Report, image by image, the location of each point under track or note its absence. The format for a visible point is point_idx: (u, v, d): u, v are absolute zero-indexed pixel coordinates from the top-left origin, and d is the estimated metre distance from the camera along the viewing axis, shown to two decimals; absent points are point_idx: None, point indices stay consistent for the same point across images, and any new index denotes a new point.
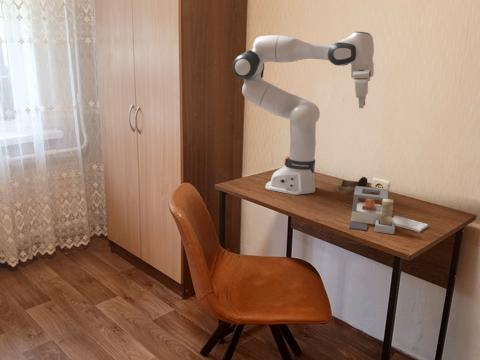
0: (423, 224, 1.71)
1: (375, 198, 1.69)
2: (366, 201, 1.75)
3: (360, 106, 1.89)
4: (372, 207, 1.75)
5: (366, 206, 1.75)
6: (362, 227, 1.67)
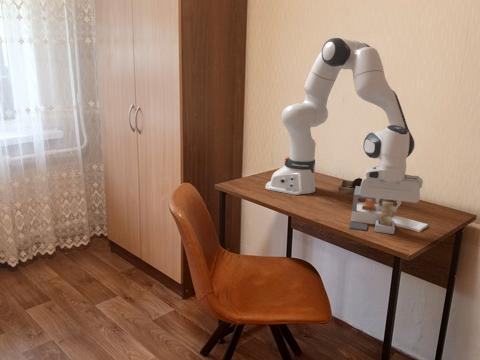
0: (423, 224, 1.71)
1: (375, 198, 1.69)
2: (366, 201, 1.75)
3: None
4: (372, 207, 1.75)
5: (366, 206, 1.75)
6: (362, 227, 1.67)
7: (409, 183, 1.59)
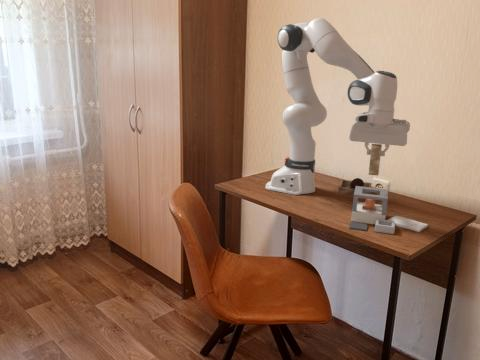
0: (423, 224, 1.71)
1: (375, 198, 1.69)
2: (366, 201, 1.75)
3: None
4: (372, 207, 1.75)
5: (366, 206, 1.75)
6: (362, 227, 1.67)
7: (397, 127, 1.65)
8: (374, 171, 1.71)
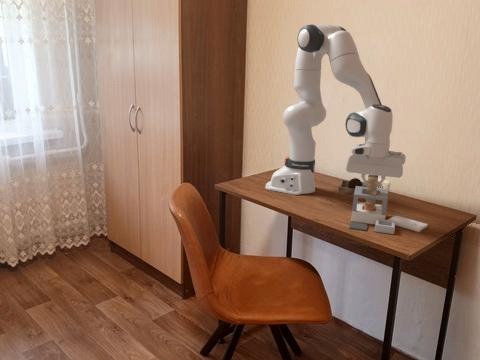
0: (423, 224, 1.71)
1: (375, 198, 1.69)
2: (365, 207, 1.76)
3: None
4: None
5: None
6: (362, 227, 1.67)
7: (393, 159, 1.68)
8: (371, 202, 1.74)
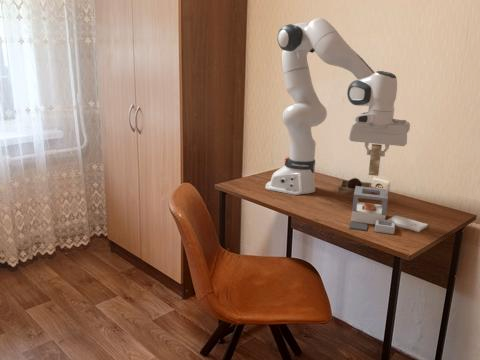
0: (422, 224, 1.71)
1: (375, 198, 1.69)
2: (365, 207, 1.76)
3: None
4: None
5: None
6: (362, 227, 1.67)
7: (397, 127, 1.65)
8: (374, 171, 1.71)
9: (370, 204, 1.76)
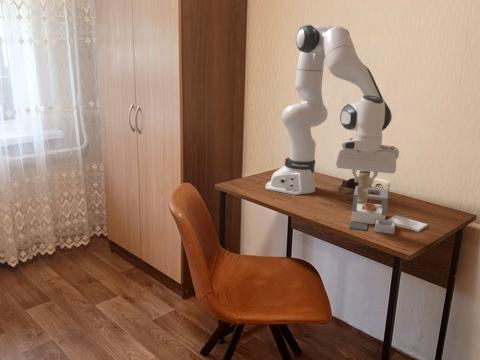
0: (422, 224, 1.71)
1: (375, 198, 1.69)
2: (365, 207, 1.76)
3: None
4: None
5: None
6: (362, 227, 1.67)
7: (385, 154, 1.58)
8: (363, 199, 1.64)
9: (370, 204, 1.76)
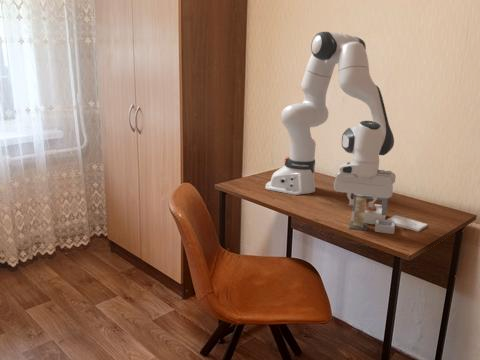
0: (422, 224, 1.71)
1: None
2: None
3: None
4: None
5: None
6: None
7: (382, 178, 1.60)
8: (359, 223, 1.66)
9: None
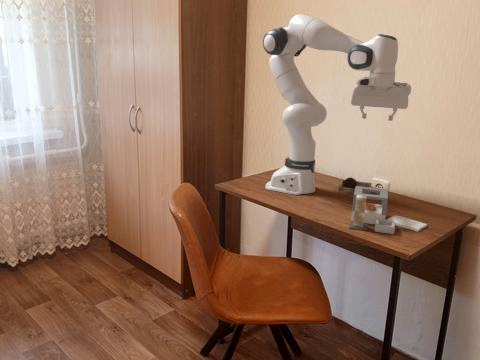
0: (422, 224, 1.71)
1: (375, 198, 1.69)
2: None
3: (362, 116, 1.74)
4: None
5: None
6: None
7: (398, 90, 1.66)
8: (359, 223, 1.66)
9: (370, 204, 1.76)
